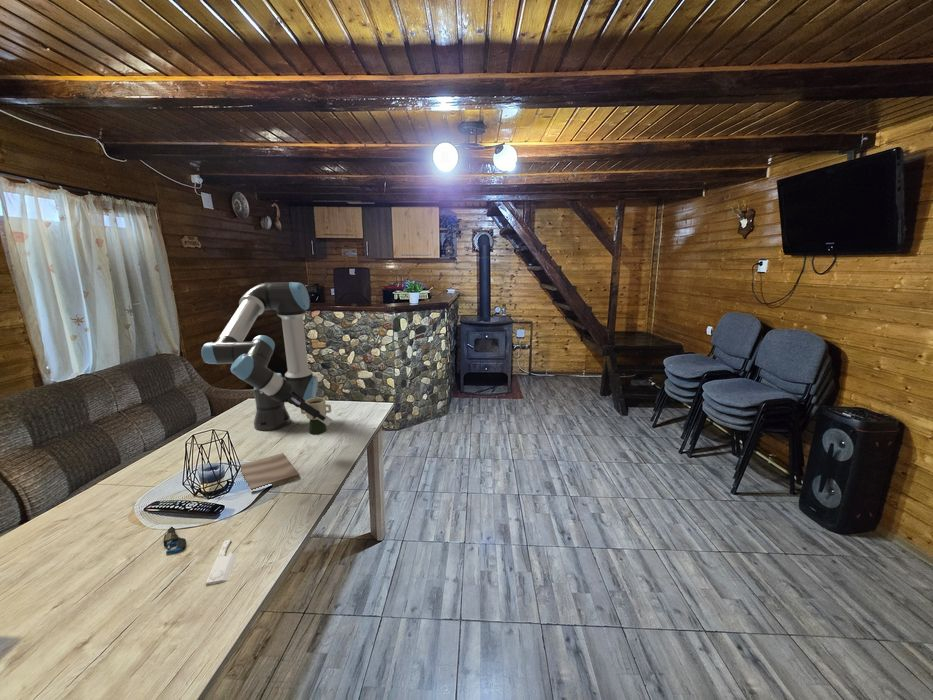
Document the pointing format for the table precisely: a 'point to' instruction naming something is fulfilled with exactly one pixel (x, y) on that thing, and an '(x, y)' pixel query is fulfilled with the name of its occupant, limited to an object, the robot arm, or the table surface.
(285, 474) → the walnut board
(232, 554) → the butcher knife
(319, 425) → the character mug
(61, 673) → the table surface
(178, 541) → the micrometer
